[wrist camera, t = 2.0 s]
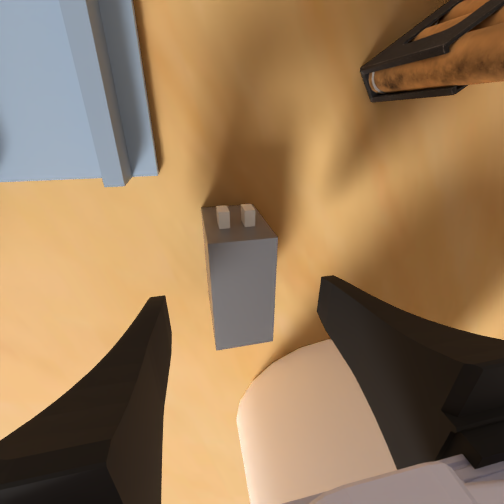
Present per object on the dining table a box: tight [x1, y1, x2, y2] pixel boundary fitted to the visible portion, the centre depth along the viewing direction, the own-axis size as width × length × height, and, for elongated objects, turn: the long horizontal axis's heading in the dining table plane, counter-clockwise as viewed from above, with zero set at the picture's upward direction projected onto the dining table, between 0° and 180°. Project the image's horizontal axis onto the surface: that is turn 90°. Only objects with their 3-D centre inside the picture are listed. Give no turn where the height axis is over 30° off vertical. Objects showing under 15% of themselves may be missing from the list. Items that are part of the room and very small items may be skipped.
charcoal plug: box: [201, 204, 278, 350], centre depth 15 cm, size 3×7×5 cm, turn 0°
